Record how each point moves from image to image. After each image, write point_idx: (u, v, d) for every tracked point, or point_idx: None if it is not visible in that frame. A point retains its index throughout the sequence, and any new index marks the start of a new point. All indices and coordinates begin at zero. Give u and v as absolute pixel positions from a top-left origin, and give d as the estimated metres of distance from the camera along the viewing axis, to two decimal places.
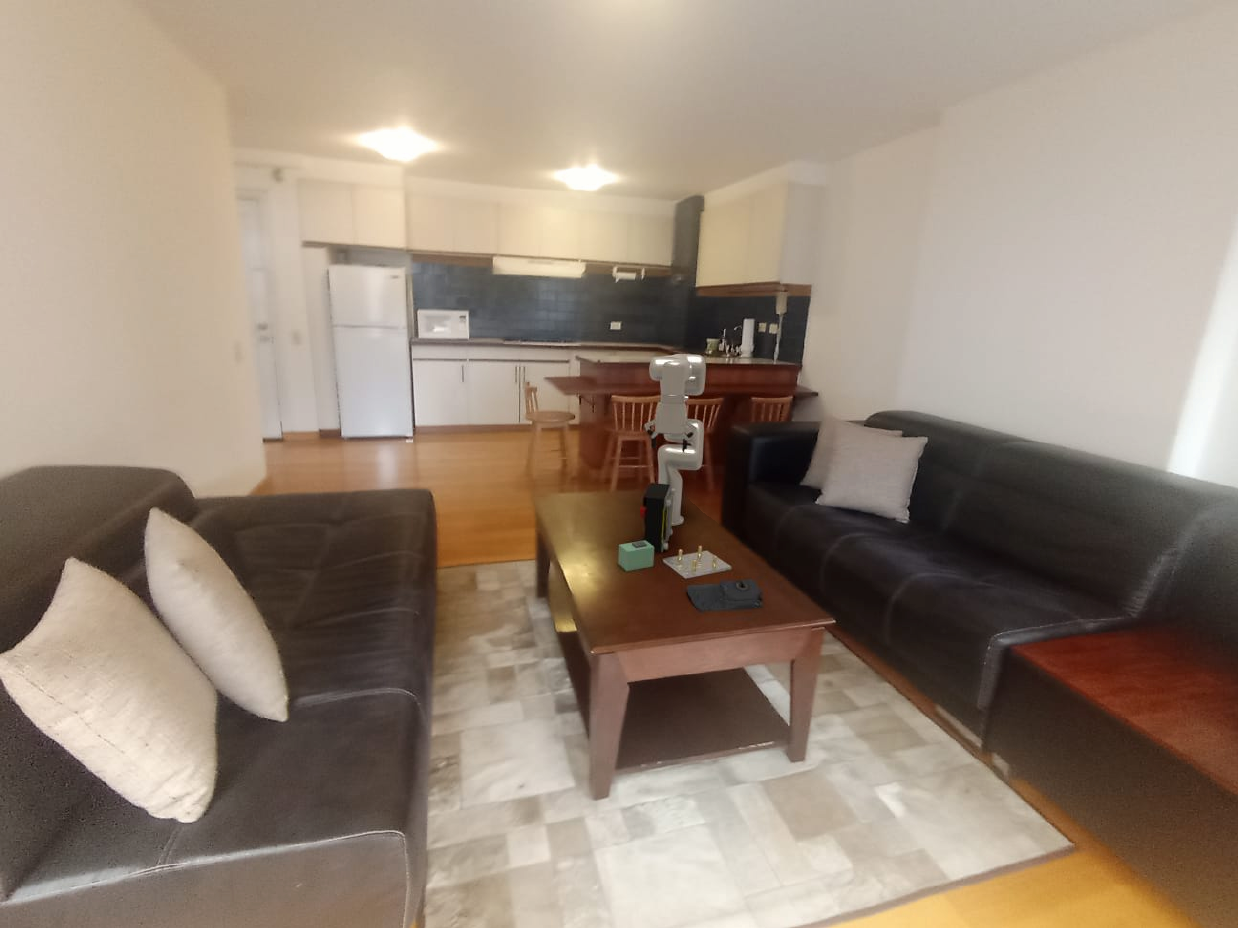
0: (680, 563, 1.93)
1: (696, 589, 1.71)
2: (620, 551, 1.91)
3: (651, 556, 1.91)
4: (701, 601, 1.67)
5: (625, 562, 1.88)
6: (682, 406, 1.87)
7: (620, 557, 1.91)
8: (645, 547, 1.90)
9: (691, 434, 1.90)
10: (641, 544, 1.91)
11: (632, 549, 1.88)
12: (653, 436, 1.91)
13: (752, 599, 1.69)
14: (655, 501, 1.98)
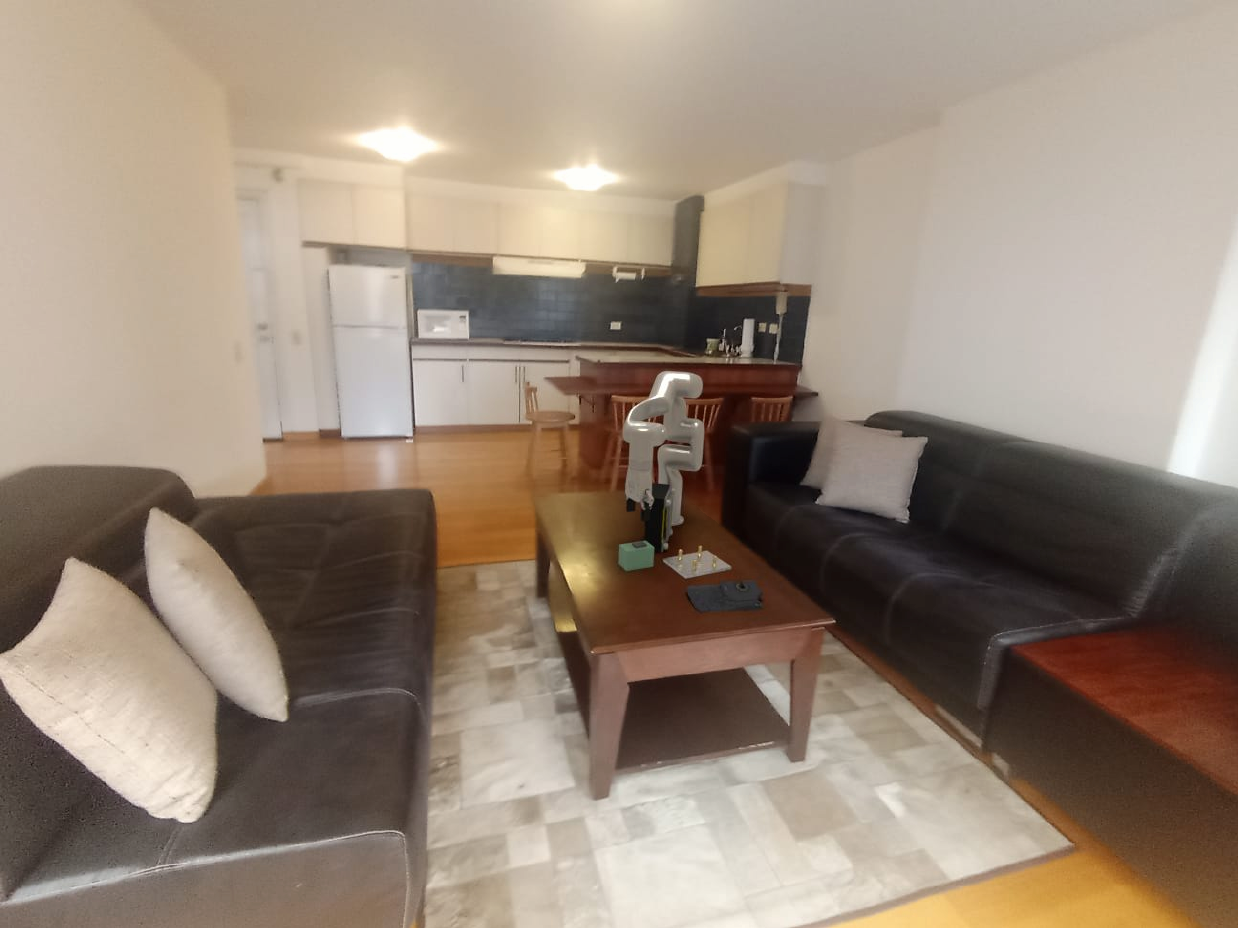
0: (680, 563, 1.93)
1: (696, 590, 1.70)
2: (620, 551, 1.91)
3: (651, 556, 1.91)
4: (701, 602, 1.66)
5: (624, 562, 1.88)
6: None
7: (620, 557, 1.91)
8: (645, 547, 1.90)
9: None
10: (641, 544, 1.90)
11: (632, 549, 1.88)
12: None
13: (752, 600, 1.68)
14: (655, 501, 1.98)
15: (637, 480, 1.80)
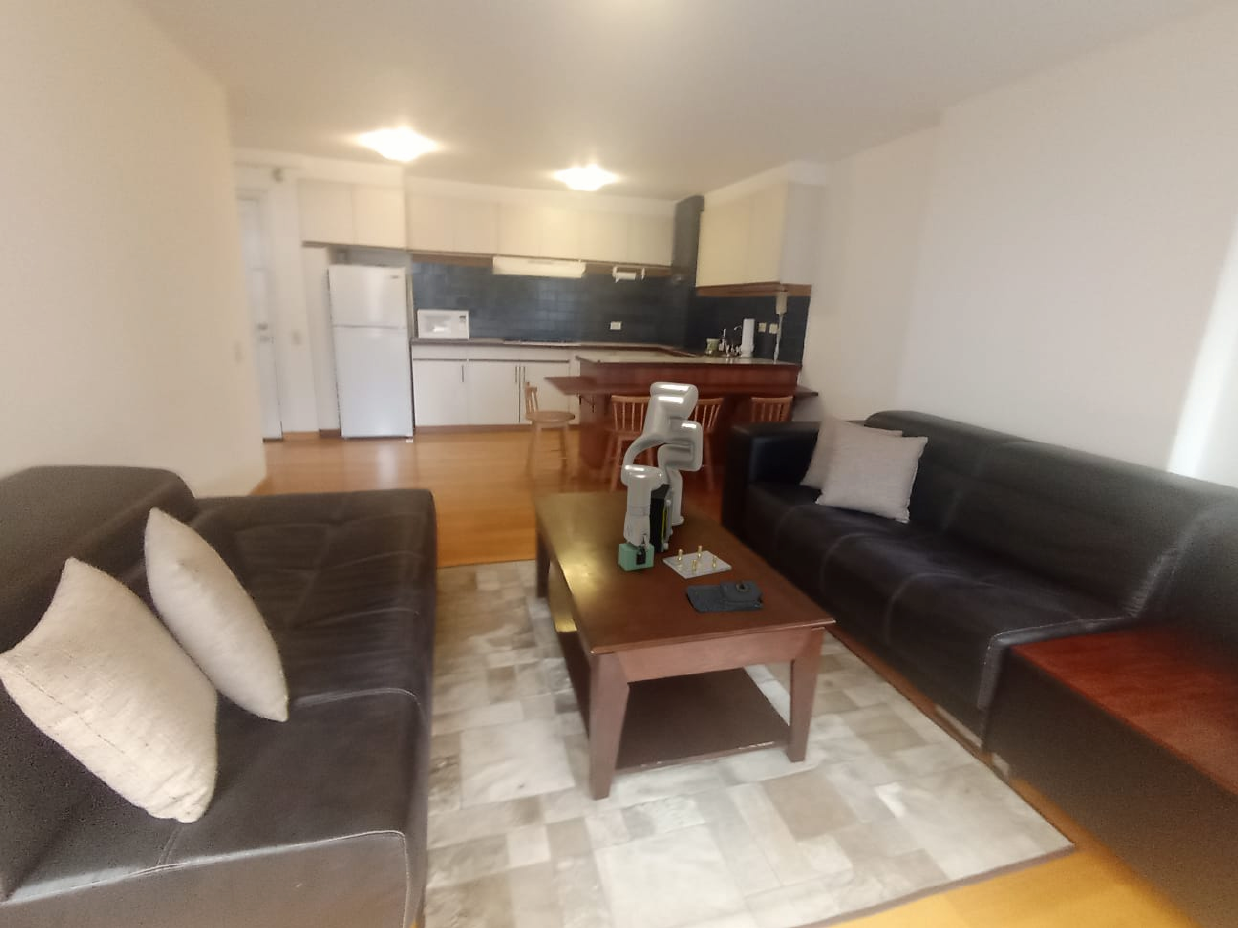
0: (680, 563, 1.93)
1: (696, 590, 1.70)
2: (620, 550, 1.91)
3: (651, 556, 1.91)
4: (700, 602, 1.66)
5: (624, 562, 1.88)
6: None
7: (620, 556, 1.91)
8: None
9: None
10: None
11: (632, 549, 1.88)
12: None
13: (752, 600, 1.68)
14: (655, 501, 1.98)
15: (635, 525, 1.84)
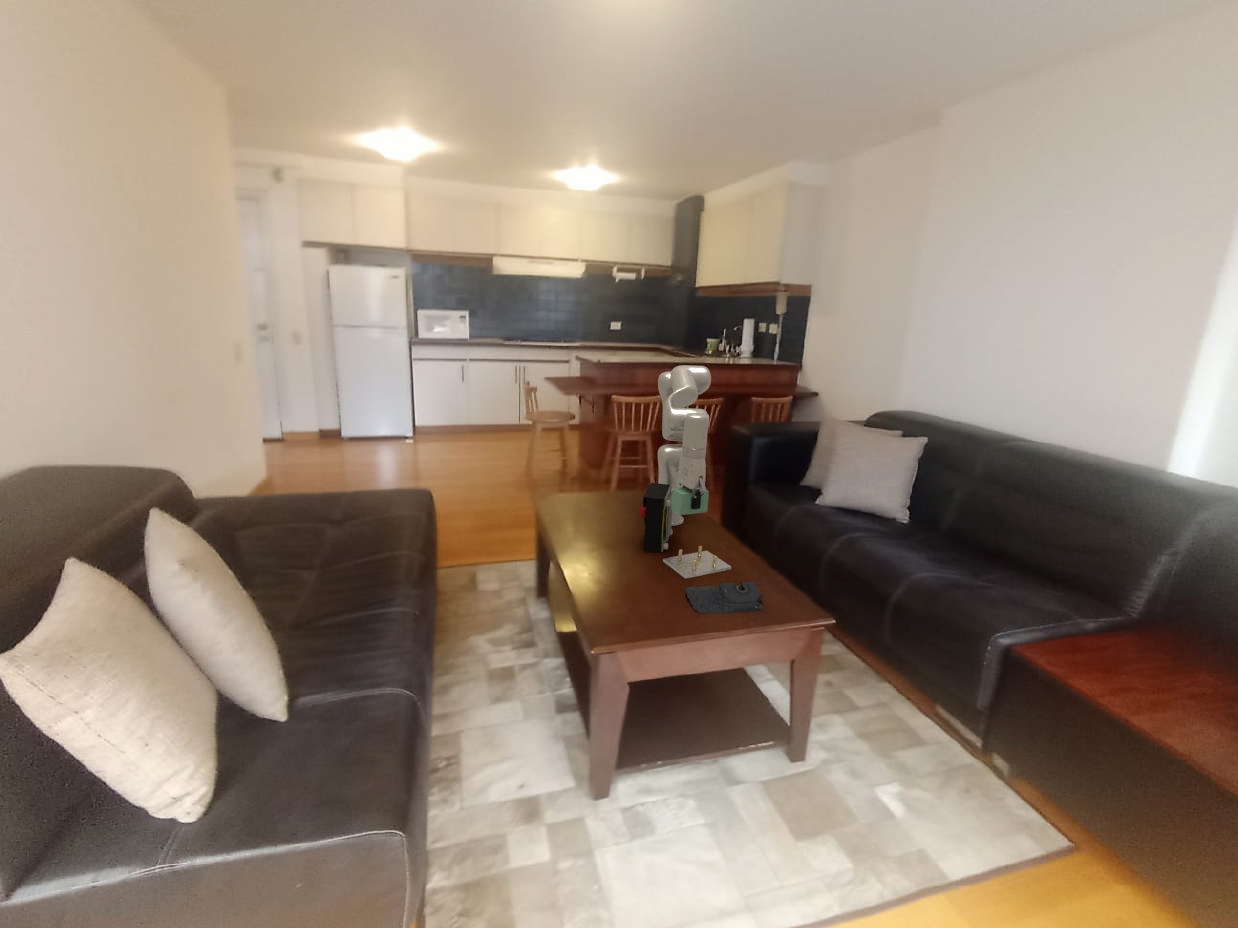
0: (680, 563, 1.93)
1: (695, 591, 1.69)
2: (674, 495, 1.87)
3: (705, 501, 1.87)
4: (700, 603, 1.65)
5: (678, 506, 1.84)
6: None
7: (673, 501, 1.87)
8: None
9: None
10: None
11: (687, 492, 1.84)
12: None
13: (752, 602, 1.67)
14: (655, 501, 1.98)
15: (691, 467, 1.81)
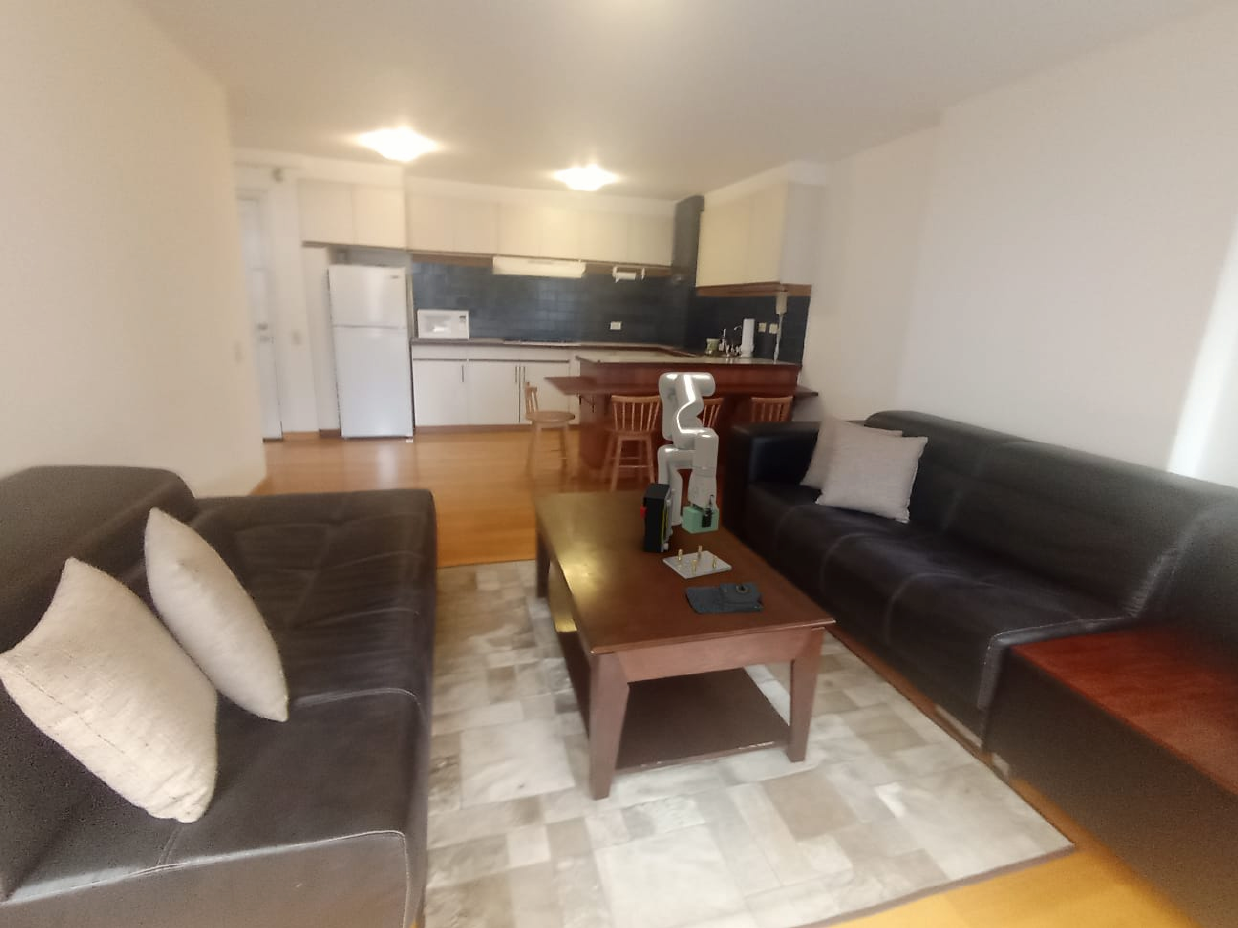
0: (680, 563, 1.93)
1: (695, 591, 1.69)
2: (684, 513, 1.88)
3: (716, 519, 1.88)
4: (699, 603, 1.65)
5: (690, 524, 1.86)
6: None
7: (684, 520, 1.89)
8: None
9: None
10: None
11: (698, 511, 1.85)
12: None
13: (752, 602, 1.67)
14: (655, 501, 1.98)
15: (702, 486, 1.82)
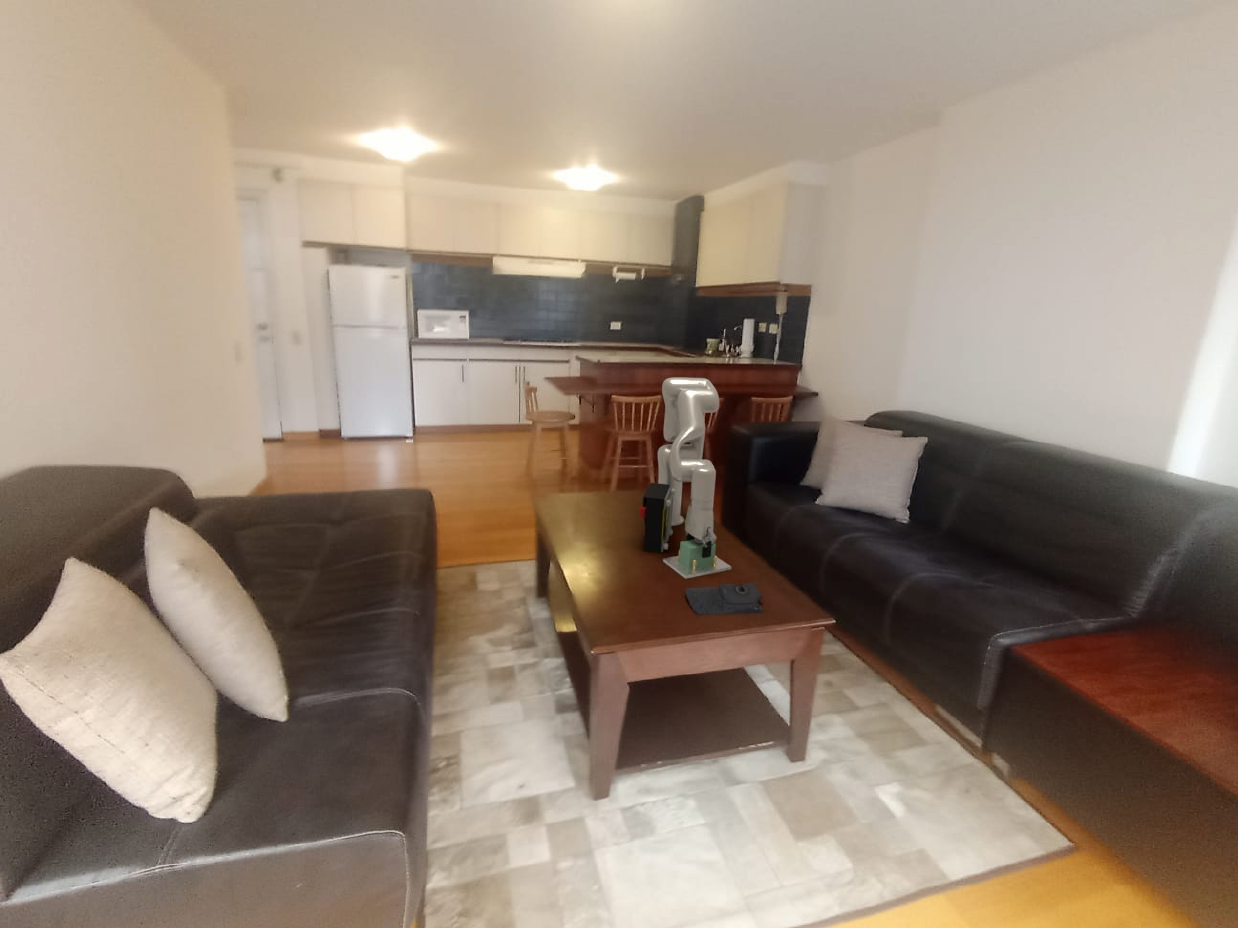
0: (680, 563, 1.93)
1: (695, 592, 1.69)
2: (682, 548, 1.92)
3: (712, 553, 1.92)
4: (699, 604, 1.65)
5: (687, 559, 1.89)
6: None
7: (681, 554, 1.92)
8: None
9: None
10: None
11: (695, 546, 1.89)
12: None
13: (752, 603, 1.66)
14: (655, 501, 1.98)
15: (699, 519, 1.85)
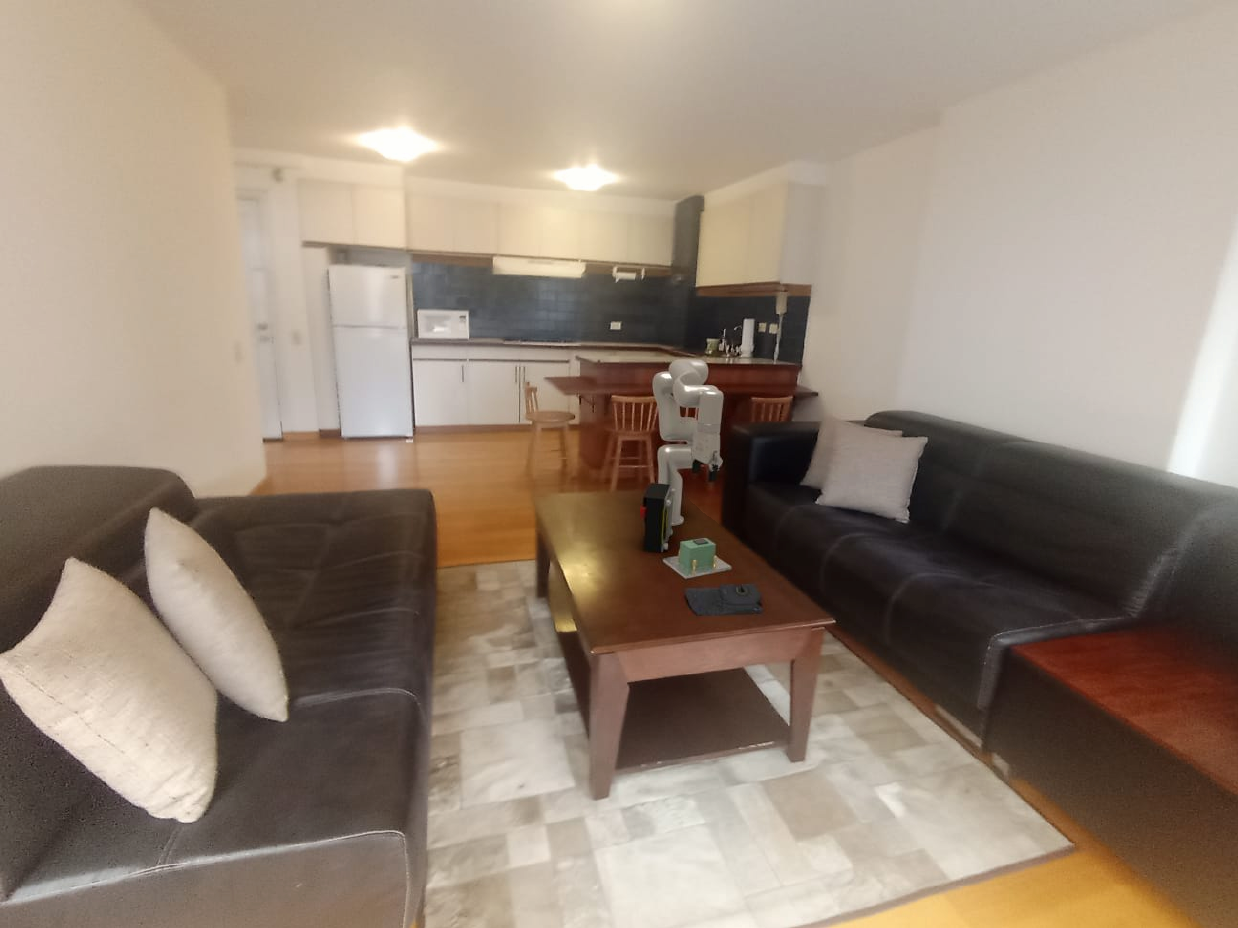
0: (680, 563, 1.93)
1: (694, 592, 1.68)
2: (682, 548, 1.92)
3: (712, 553, 1.92)
4: (698, 605, 1.64)
5: (687, 559, 1.89)
6: None
7: (681, 554, 1.92)
8: (707, 544, 1.91)
9: None
10: (703, 541, 1.92)
11: (695, 546, 1.89)
12: None
13: (751, 604, 1.66)
14: (655, 501, 1.98)
15: (706, 442, 1.86)
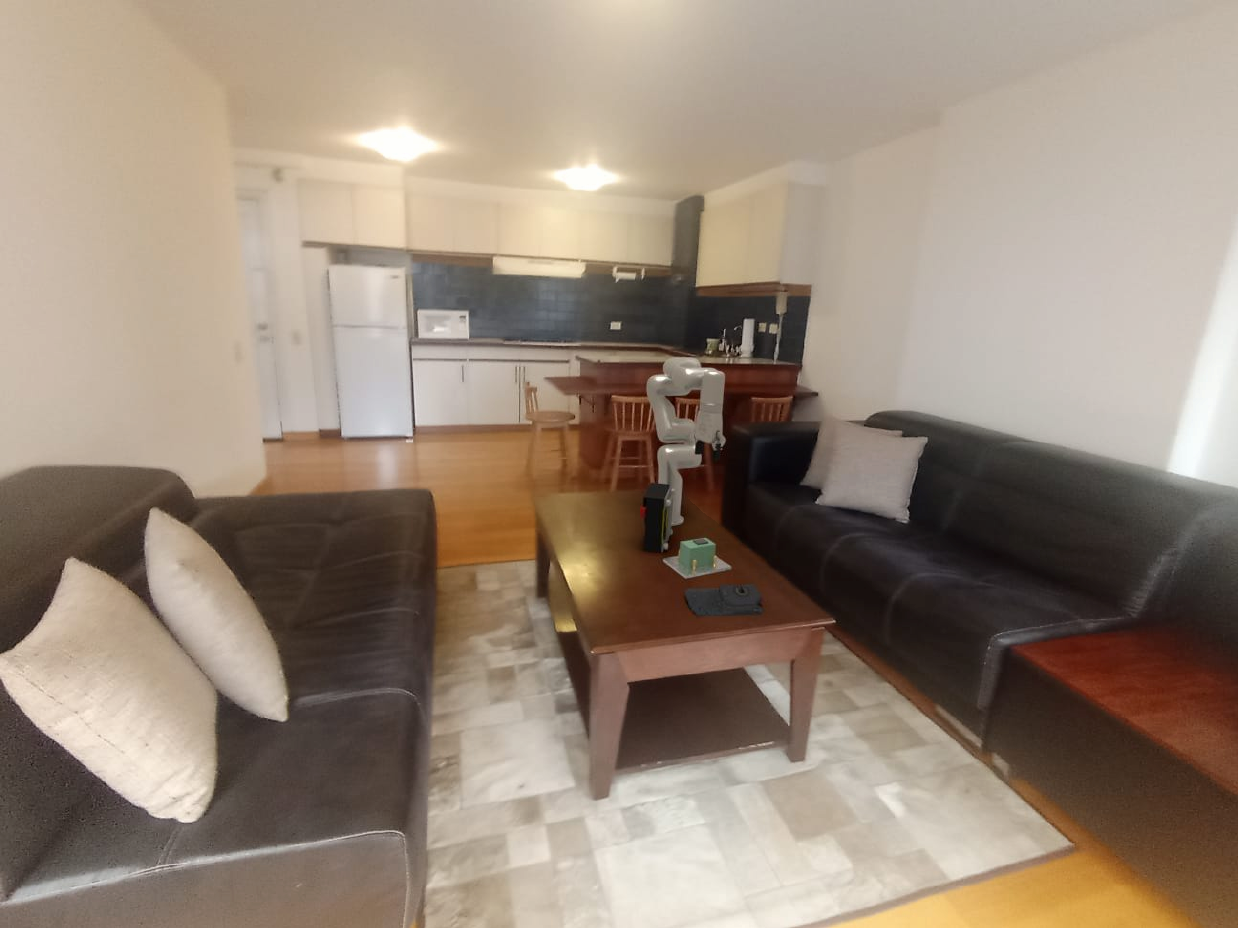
0: (680, 563, 1.93)
1: (694, 593, 1.68)
2: (682, 548, 1.92)
3: (712, 553, 1.92)
4: (698, 605, 1.64)
5: (687, 559, 1.89)
6: None
7: (681, 554, 1.92)
8: (707, 544, 1.91)
9: None
10: (703, 541, 1.92)
11: (695, 546, 1.89)
12: None
13: (751, 605, 1.65)
14: (655, 501, 1.98)
15: (709, 422, 1.90)
